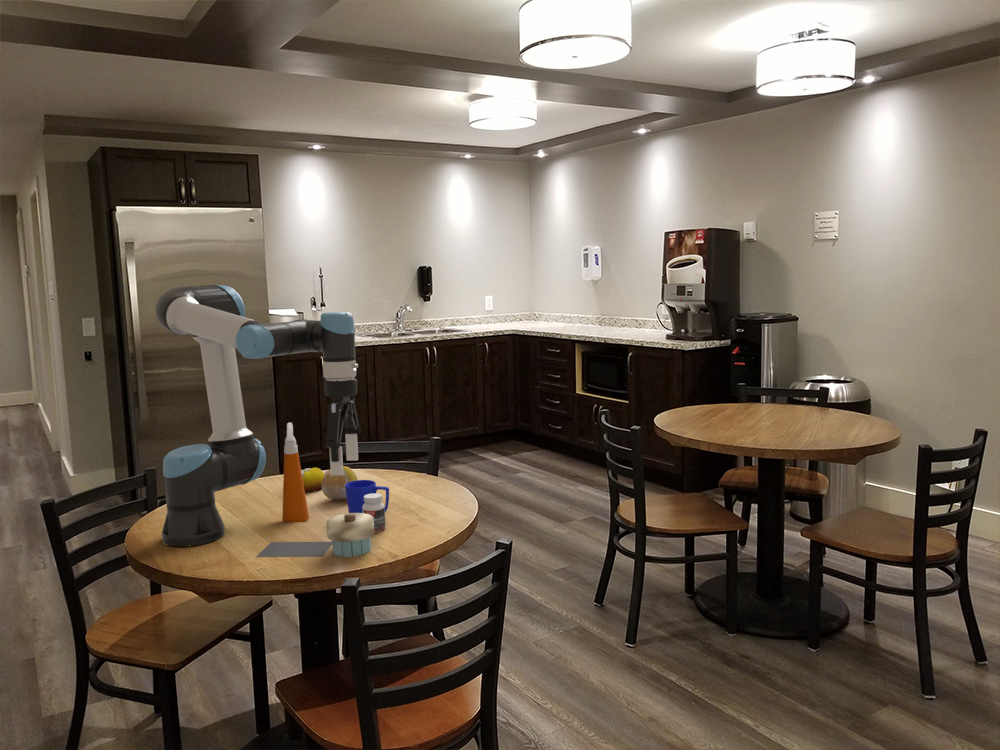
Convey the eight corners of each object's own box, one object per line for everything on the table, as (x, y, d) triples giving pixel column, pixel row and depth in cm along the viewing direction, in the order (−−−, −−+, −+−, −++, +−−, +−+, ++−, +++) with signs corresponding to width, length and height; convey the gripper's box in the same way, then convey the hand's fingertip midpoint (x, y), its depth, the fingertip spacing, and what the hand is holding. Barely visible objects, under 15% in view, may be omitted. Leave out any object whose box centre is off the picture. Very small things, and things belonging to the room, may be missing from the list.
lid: (321, 542, 181) (320, 522, 180) (334, 526, 192) (333, 508, 191) (368, 541, 180) (367, 522, 180) (378, 526, 191) (377, 507, 191)
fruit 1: (314, 480, 254) (316, 458, 252) (330, 495, 247) (333, 473, 245) (282, 487, 247) (284, 464, 244) (298, 502, 240) (301, 479, 237)
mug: (385, 525, 208) (383, 488, 206) (342, 523, 210) (340, 487, 209) (395, 515, 215) (393, 480, 214) (354, 514, 218) (351, 479, 217)
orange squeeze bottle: (309, 511, 222) (302, 420, 219) (309, 522, 212) (302, 427, 208) (283, 513, 220) (276, 422, 217) (282, 525, 210) (275, 429, 207)
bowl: (329, 560, 183) (327, 540, 182) (339, 547, 192) (338, 527, 191) (366, 560, 182) (365, 539, 182) (374, 547, 191) (373, 527, 190)
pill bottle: (366, 538, 198) (364, 500, 197) (361, 531, 203) (358, 494, 202) (388, 534, 200) (386, 496, 199) (382, 528, 205) (380, 491, 204)
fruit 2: (328, 495, 238) (326, 463, 237) (363, 495, 237) (361, 462, 236) (317, 505, 228) (315, 471, 227) (353, 505, 227) (351, 471, 225)
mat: (256, 560, 184) (255, 556, 184) (271, 545, 194) (271, 542, 194) (322, 560, 183) (322, 556, 183) (334, 545, 193) (334, 541, 193)
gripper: (341, 386, 170) (346, 481, 173) (368, 371, 194) (372, 454, 197) (307, 386, 170) (313, 481, 173) (339, 371, 195) (343, 454, 198)
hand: (345, 467), depth 185 cm, fingers open, 13 cm apart
